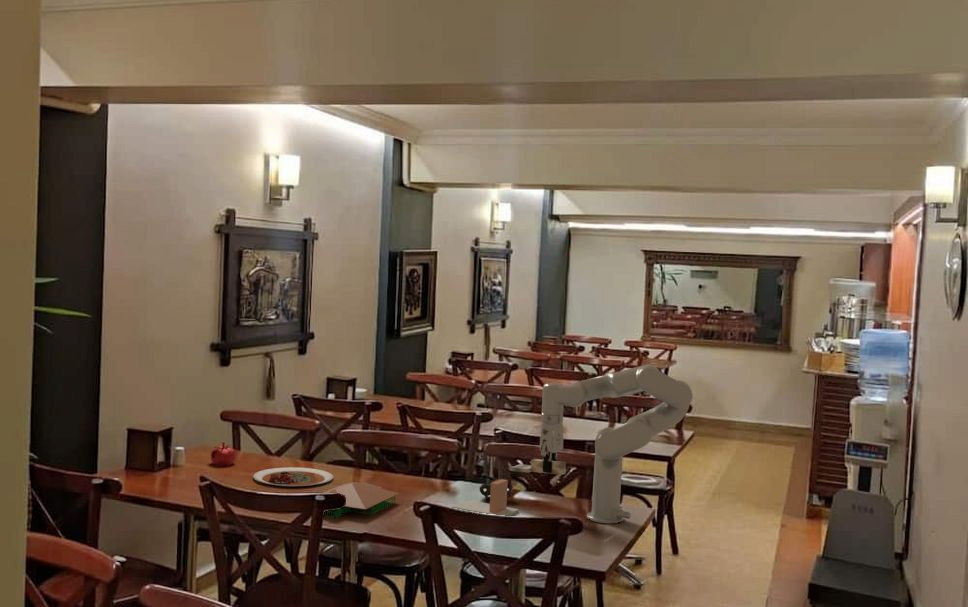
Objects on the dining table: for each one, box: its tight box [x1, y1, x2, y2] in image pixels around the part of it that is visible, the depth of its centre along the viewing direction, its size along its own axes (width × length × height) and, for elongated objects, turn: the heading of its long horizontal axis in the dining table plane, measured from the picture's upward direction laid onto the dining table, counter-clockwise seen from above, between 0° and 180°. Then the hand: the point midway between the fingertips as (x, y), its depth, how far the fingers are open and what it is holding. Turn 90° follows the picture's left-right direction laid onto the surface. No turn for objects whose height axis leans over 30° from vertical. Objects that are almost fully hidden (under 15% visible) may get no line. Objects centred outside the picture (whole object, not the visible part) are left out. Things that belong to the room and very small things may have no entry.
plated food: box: [252, 466, 334, 487], centre depth 352 cm, size 30×30×3 cm
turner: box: [510, 458, 567, 476], centre depth 322 cm, size 19×7×4 cm, turn 60°
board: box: [451, 499, 519, 517], centre depth 320 cm, size 20×12×1 cm, turn 62°
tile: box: [489, 478, 509, 513], centre depth 318 cm, size 2×8×10 cm, turn 152°
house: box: [319, 481, 399, 518], centre depth 318 cm, size 23×33×8 cm
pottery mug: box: [479, 478, 513, 500], centre depth 336 cm, size 12×9×8 cm
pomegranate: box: [210, 441, 237, 467], centre depth 370 cm, size 10×10×9 cm
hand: (549, 470), depth 320 cm, fingers closed on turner, 3 cm apart
